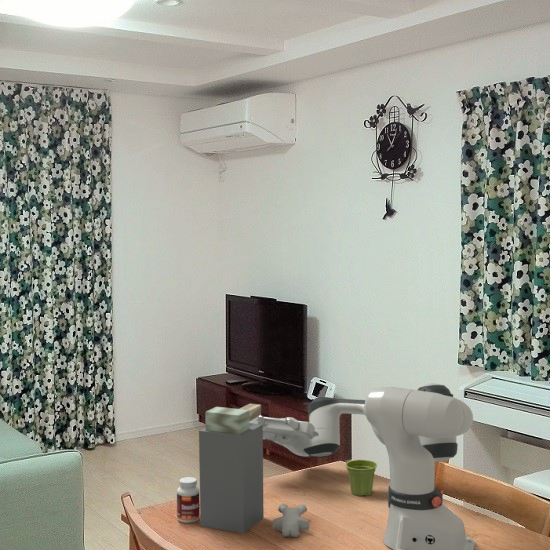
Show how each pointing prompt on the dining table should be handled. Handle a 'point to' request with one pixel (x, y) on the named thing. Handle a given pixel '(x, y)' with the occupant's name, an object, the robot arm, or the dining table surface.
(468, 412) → the robot arm
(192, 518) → the pill bottle
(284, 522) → the grey soft figure
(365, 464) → the plant pot
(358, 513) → the dining table surface
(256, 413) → the mallet
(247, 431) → the stand
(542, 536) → the dining table surface
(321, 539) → the dining table surface
